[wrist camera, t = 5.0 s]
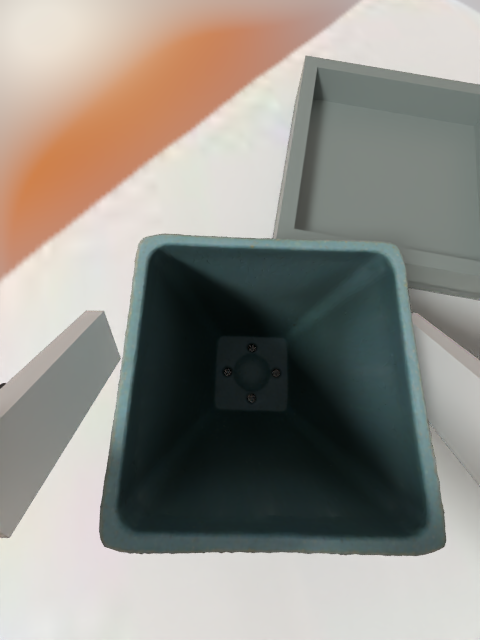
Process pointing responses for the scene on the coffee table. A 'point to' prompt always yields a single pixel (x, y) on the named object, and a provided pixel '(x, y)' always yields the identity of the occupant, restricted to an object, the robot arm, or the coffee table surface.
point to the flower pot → (270, 403)
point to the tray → (387, 169)
